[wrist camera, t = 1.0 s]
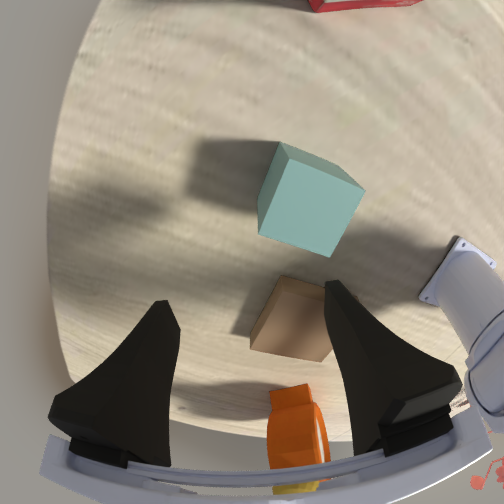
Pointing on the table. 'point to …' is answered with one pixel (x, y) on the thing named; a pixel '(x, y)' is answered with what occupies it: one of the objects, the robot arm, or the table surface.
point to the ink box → (356, 4)
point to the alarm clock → (296, 435)
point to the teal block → (306, 201)
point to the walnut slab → (293, 322)
